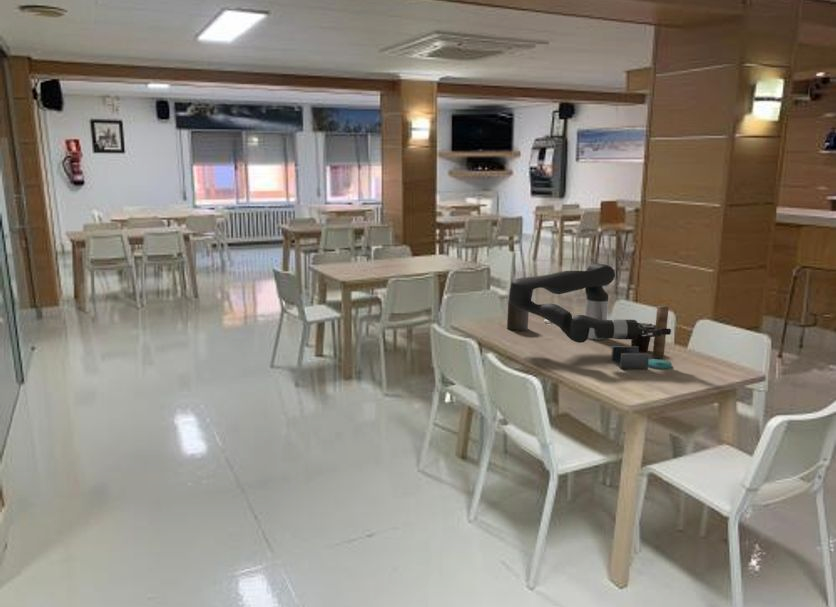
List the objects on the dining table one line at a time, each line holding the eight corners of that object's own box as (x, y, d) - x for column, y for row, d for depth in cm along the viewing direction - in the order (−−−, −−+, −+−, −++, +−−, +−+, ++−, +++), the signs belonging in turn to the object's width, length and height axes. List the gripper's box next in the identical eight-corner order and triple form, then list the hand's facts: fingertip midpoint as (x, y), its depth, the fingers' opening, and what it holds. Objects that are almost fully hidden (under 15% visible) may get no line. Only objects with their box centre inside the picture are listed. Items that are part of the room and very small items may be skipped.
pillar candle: (508, 331, 295) (509, 299, 292) (505, 326, 304) (507, 295, 301) (529, 331, 295) (530, 299, 292) (526, 326, 304) (528, 295, 301)
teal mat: (639, 361, 249) (639, 358, 249) (665, 361, 250) (665, 359, 249) (649, 368, 240) (649, 366, 239) (675, 369, 240) (675, 366, 240)
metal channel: (610, 360, 250) (612, 345, 249) (636, 361, 250) (637, 346, 249) (621, 369, 238) (622, 354, 237) (647, 370, 239) (649, 354, 237)
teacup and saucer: (541, 323, 313) (542, 315, 312) (550, 321, 319) (550, 313, 318) (557, 326, 307) (557, 318, 306) (565, 324, 313) (566, 316, 312)
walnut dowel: (650, 356, 246) (655, 305, 242) (661, 356, 246) (666, 305, 242) (654, 359, 242) (659, 307, 238) (665, 359, 242) (670, 308, 238)
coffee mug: (631, 346, 271) (633, 323, 269) (652, 349, 267) (654, 326, 265) (624, 352, 261) (626, 329, 260) (646, 356, 257) (648, 331, 255)
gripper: (630, 324, 234) (676, 324, 234) (617, 315, 248) (661, 316, 248) (628, 343, 235) (674, 344, 236) (616, 334, 249) (659, 335, 250)
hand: (667, 330), depth 242 cm, fingers closed on walnut dowel, 4 cm apart
